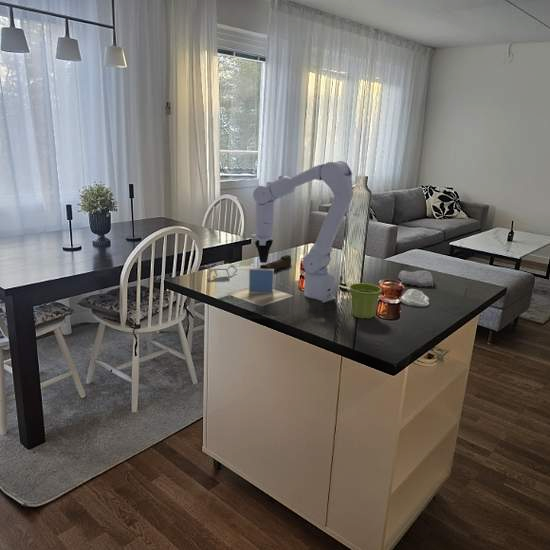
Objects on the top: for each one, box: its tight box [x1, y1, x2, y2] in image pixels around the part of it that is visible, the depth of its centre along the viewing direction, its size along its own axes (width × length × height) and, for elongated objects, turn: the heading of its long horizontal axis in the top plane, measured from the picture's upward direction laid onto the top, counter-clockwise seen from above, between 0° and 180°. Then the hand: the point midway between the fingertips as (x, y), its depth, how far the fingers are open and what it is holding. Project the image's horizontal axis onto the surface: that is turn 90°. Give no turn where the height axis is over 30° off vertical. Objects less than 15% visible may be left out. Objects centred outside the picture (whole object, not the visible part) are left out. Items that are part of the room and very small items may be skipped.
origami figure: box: [206, 263, 239, 280], centre depth 175 cm, size 12×8×5 cm
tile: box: [248, 267, 275, 293], centre depth 157 cm, size 8×1×8 cm, turn 87°
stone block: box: [397, 270, 434, 288], centre depth 178 cm, size 12×5×10 cm
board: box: [226, 286, 294, 307], centre depth 156 cm, size 16×15×1 cm
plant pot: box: [348, 282, 383, 320], centre depth 143 cm, size 9×9×9 cm
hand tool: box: [259, 254, 292, 271], centre depth 189 cm, size 19×4×5 cm, turn 142°
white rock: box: [400, 288, 430, 307], centre depth 157 cm, size 10×4×10 cm
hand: (263, 261), depth 164 cm, fingers closed
